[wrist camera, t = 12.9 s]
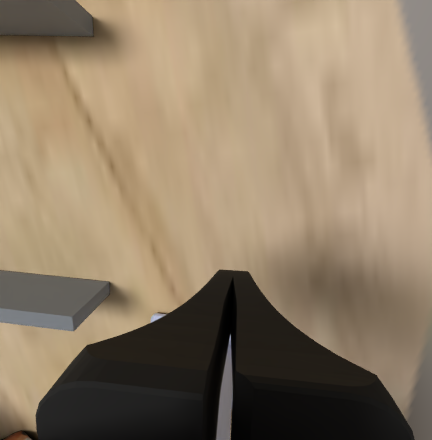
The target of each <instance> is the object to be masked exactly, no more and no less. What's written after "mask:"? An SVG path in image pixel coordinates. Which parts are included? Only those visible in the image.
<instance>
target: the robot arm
mask: <svg viewBox="0 0 432 440" xmlns="http://www.w3.org/2000/svg"><path fill="white" fill-rule="evenodd" d="M231 409H232V423H231ZM230 426H231V440H414V436H413V432H412V430H411V428H410V426H409V425H408V423H407V421H406V420H405V418H404V416H403V415H402V413H401V411H400V410H399V408H398V406H397V405H396V403H395V401H394V400H393V398H392V397H391V395H390V394H389V392H388V391H387V390H386V388H385V387H384V385H383V384H382V383H381V381H380V380H379V378H378V377H377V375H375V374H373V373H371V372H369V371H367V370H365V369H363V368H361V367H359V366H357V365H355V364H353V363H351V362H349V361H348V360H346V359H344V358H342V357H340V356H338V355H336V354H335V353H333V352H331V351H330V350H328V349H326V348H325V347H323V346H321V345H320V344H318V343H317V342H315V341H314V340H312V339H311V338H309V337H308V336H307V335H305V334H304V333H303V332H301V331H300V330H299V329H297V328H296V327H295V326H294V325H292V324H291V323H290V322H289V321H288V320H287V319H285V318H284V317H283V316H282V315H281V314H280V313H279V312H278V311H277V310H276V309H275V308H274V307H273V306H272V305H271V303H270V302H269V301H268V300H267V299H266V297H265V296H264V295H263V293H262V292H261V291H260V289H259V288H258V286H257V285H256V283H255V282H254V280H253V278H252V277H251V274H250V273H249V272H247V271H233V270H219V271H218V272H217V273H216V274H215V275H214V276H213V277H212V278H211V280H210V281H209V282H208V283H207V284H206V285H205V286H204V287H203V288H202V289H201V290H200V291H199V292H198V293H196V294H195V295H194V296H193V297H192V298H191V299H189V300H188V301H187V302H186V303H184V304H183V305H181V306H180V307H178V308H177V309H175V310H174V311H172V312H170V313H169V314H160V313H155V314H153V316H152V317H151V323H150V324H147V325H145V326H143V327H140V328H138V329H135V330H133V331H130V332H128V333H125V334H122V335H120V336H116V337H113V338H110V339H107V340H103V341H100V342H97V343H94V344H90V345H87V346H86V347H85V348H84V349H83V350H82V351H81V352H80V353H79V355H78V356H77V357H76V358H75V359H74V360H73V361H72V363H71V364H70V365H69V366H68V368H67V369H66V370H65V371H64V373H63V374H62V375H61V376H60V378H59V379H58V380H57V381H56V383H55V384H54V385H53V386H52V388H51V389H50V390H49V391H48V393H47V394H46V395H45V396H44V398H43V399H42V400H41V401H40V402H39V406H38V409H37V412H36V427H37V434H38V439H39V440H230Z"/></svg>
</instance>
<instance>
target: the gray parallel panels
mask: <svg viewBox="0 0 432 440" xmlns="http://www.w3.org/2000/svg"><path fill="white" fill-rule="evenodd" d="M0 35H36V36H93V20H92V15H91V14H89V13H88V12H87V11H86V10H85V9H84V8H83V7H82V6H81V5H80V4H79V3H78V2H77V1H75V0H0ZM109 294H110V286H109V282H107V281H97V280H88V279H78V278H69V277H59V276H49V275H40V274H30V273H21V272H11V271H1V270H0V322H2V323H10V324H18V325H26V326H34V327H42V328H51V329H59V330H67V331H75V330H76V329H77V327H78V326H79V325H80V324H81V323H82V322H83V321H84V320H85V319H86V318H87V317H88V316H89V315H90V314H91V313H92V312H93V311H94V310H95V309H96V308H97V307H98V306H99V305H100V304H101V302H102V301H103V300H104V299H105V298H106V297H107V296H108V295H109Z"/></svg>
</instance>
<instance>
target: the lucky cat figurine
mask: <svg viewBox="0 0 432 440" xmlns="http://www.w3.org/2000/svg"><path fill="white" fill-rule="evenodd" d="M2 440H32V439H31V438H29V436H28V435H27V434H26V433H25V432H23V431H19V432H16V433H14V434H12V435H10V436H8V437H6V438H4V439H2Z"/></svg>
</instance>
